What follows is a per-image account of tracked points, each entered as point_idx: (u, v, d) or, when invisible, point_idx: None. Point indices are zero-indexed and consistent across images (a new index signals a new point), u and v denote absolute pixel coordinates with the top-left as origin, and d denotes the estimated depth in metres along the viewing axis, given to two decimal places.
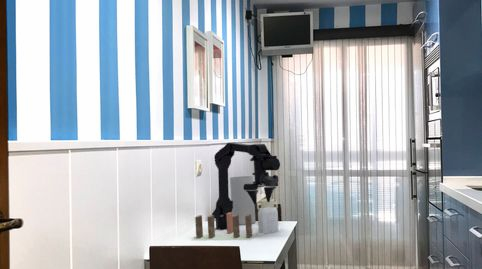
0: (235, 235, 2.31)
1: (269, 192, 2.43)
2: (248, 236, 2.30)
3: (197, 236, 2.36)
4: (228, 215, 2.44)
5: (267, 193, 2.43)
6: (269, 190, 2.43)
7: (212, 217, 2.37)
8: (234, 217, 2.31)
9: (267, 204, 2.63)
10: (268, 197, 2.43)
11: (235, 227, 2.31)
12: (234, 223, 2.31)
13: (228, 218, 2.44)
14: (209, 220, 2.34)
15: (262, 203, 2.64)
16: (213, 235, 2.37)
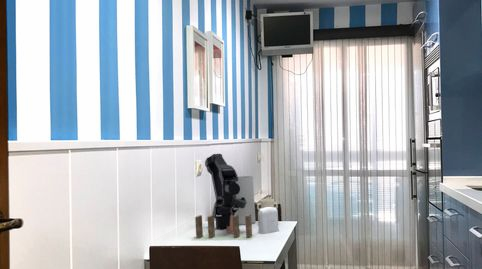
0: (235, 235, 2.31)
1: None
2: (248, 236, 2.30)
3: (197, 236, 2.36)
4: None
5: None
6: (232, 213, 2.49)
7: (212, 217, 2.37)
8: (234, 217, 2.31)
9: (267, 204, 2.63)
10: None
11: (235, 227, 2.31)
12: (234, 223, 2.31)
13: None
14: (209, 220, 2.34)
15: (262, 203, 2.64)
16: (213, 235, 2.37)
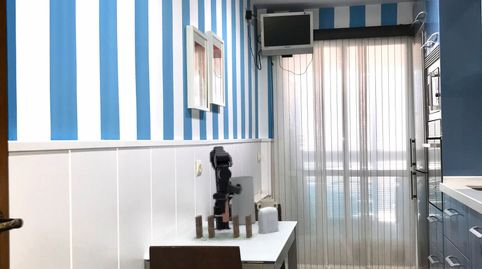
0: (235, 235, 2.31)
1: (228, 202, 2.41)
2: (248, 236, 2.30)
3: (197, 236, 2.36)
4: None
5: None
6: (228, 200, 2.42)
7: (212, 217, 2.37)
8: (234, 217, 2.31)
9: (267, 204, 2.63)
10: None
11: (235, 227, 2.31)
12: (234, 223, 2.31)
13: None
14: (209, 220, 2.34)
15: (262, 203, 2.64)
16: (213, 235, 2.37)
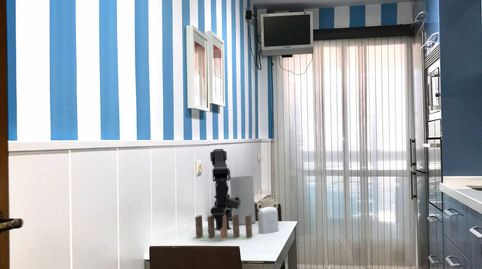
0: (235, 235, 2.31)
1: (227, 215, 2.39)
2: (248, 236, 2.30)
3: (197, 236, 2.36)
4: None
5: None
6: (227, 212, 2.39)
7: (212, 217, 2.37)
8: (234, 217, 2.31)
9: (267, 204, 2.63)
10: None
11: (235, 227, 2.31)
12: (234, 223, 2.31)
13: None
14: (209, 220, 2.34)
15: (262, 203, 2.64)
16: (213, 235, 2.37)
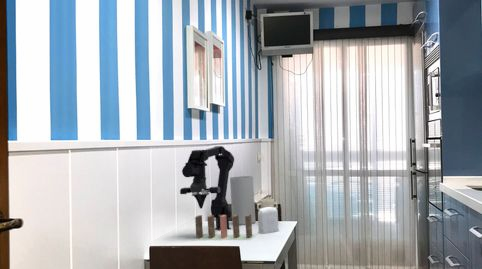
0: (235, 235, 2.31)
1: None
2: (248, 236, 2.30)
3: (197, 236, 2.36)
4: (222, 218, 2.33)
5: None
6: None
7: (212, 217, 2.37)
8: (234, 217, 2.31)
9: (267, 204, 2.63)
10: None
11: (235, 227, 2.31)
12: (234, 223, 2.31)
13: (222, 221, 2.33)
14: (209, 220, 2.34)
15: (262, 203, 2.64)
16: (213, 235, 2.37)
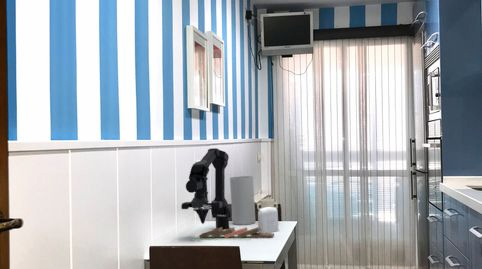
0: (240, 236, 2.31)
1: None
2: (252, 236, 2.29)
3: (201, 235, 2.35)
4: (243, 231, 2.30)
5: None
6: None
7: (232, 231, 2.34)
8: (257, 230, 2.29)
9: (267, 204, 2.63)
10: None
11: (248, 234, 2.30)
12: (251, 232, 2.29)
13: (240, 232, 2.31)
14: (228, 232, 2.32)
15: (262, 203, 2.64)
16: None
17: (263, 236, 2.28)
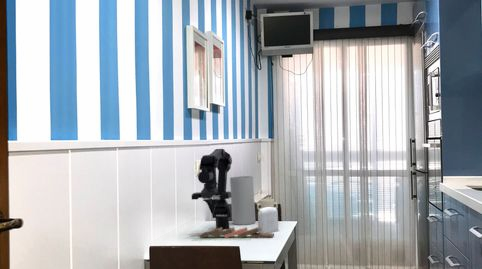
0: (240, 236, 2.31)
1: None
2: (252, 236, 2.29)
3: (201, 235, 2.35)
4: (243, 231, 2.30)
5: None
6: None
7: (232, 231, 2.34)
8: (257, 230, 2.29)
9: (267, 204, 2.63)
10: None
11: (248, 234, 2.30)
12: (251, 232, 2.29)
13: (240, 232, 2.31)
14: (228, 232, 2.32)
15: (262, 203, 2.64)
16: None
17: (263, 236, 2.28)
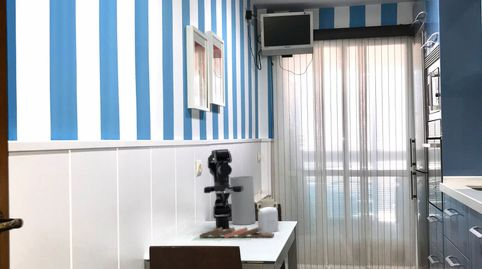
0: (240, 236, 2.31)
1: None
2: (252, 236, 2.29)
3: (201, 235, 2.35)
4: (243, 231, 2.30)
5: None
6: None
7: (232, 231, 2.34)
8: (257, 230, 2.29)
9: (267, 204, 2.63)
10: None
11: (248, 234, 2.30)
12: (251, 232, 2.29)
13: (240, 232, 2.31)
14: (228, 232, 2.32)
15: (262, 203, 2.64)
16: None
17: (263, 236, 2.28)
